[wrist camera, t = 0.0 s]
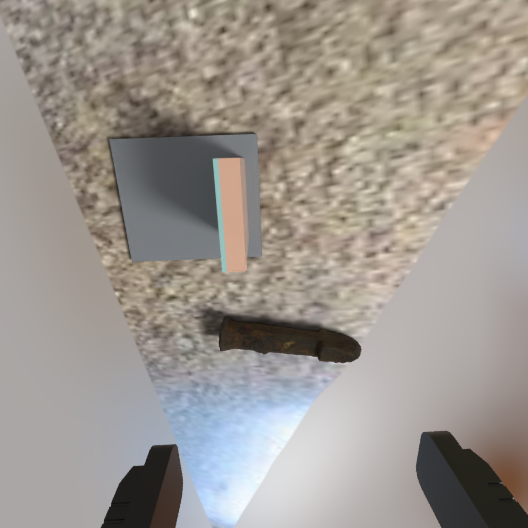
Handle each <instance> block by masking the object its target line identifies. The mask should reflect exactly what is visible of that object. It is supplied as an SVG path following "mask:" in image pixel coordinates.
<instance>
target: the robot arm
mask: <svg viewBox="0 0 528 528" xmlns="http://www.w3.org/2000/svg"><path fill="white" fill-rule="evenodd" d="M416 472H417V477H418V480H419V483H420V486H421V488H422V490H423V492H424V494H425V496H426V498H427V500H428V502H429V504H430V506H431V508H432V510H433V512H434V514H435V516H436V518H437V520H438V522H439V524H440V526H441V527H442V528H528V515H527V514H526V512H525V511H524V510H523V508H522V507H521V506H520V505H519V503H518V502H516V501H515V499H514V497H513V495H512V494H511V493H510V491H509V490H508V489H507V488H506V486H503V484H502V481H501V480H500V479H499V477H498V476H497V475H496V473H495V472H494V471H493V470H492V468H491V467H490V466H489V464H488V463H487V462H485V461H484V460H483V459H482V458H480V457H479V456H478V455H477V454H475V453H474V452H473V451H472V450H471V449H462V448H461V446H460V445H459V443H458V442H457V441H456V439H455V438H454V437H453V435H452V434H451V433H450V432H448V431H434V432H423V433H422V435H421V439H420V445H419V452H418V457H417V464H416ZM182 490H183V477H182V471H181V465H180V459H179V453H178V447H177V445H176V444H173V445H154V446H152V447H151V449H150V451H149V453H148V456H147V459H146V462H145V464H144V466H133V467H132V468H131V470H130V471H129V472H128V473H127V475H126V476H125V477H124V478H123V479H122V481H121V482H120V483H119V486H118V488H117V490H116V493H115V495H114V497H113V500H112V503H111V507H109V510H108V512H107V514H106V517H105V519H104V524H102V526H101V528H175V527H176V522H177V517H178V513H179V508H180V503H181V498H182Z"/></svg>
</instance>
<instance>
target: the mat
mask: <svg viewBox="0 0 528 528" xmlns="http://www.w3.org/2000/svg"><path fill="white" fill-rule="evenodd" d="M109 140H110V145H111V151H112V156H113V162H114V167H115V173H116V178H117V183H118V189H119V194H120V200H121V205H122V211H123V216H124V221H125V227H126V232H127V238H128V243H129V249H130V254H131V260H132V262H140V261H163V260H187V259H211V258H221V251H220V239H219V228H218V216H217V204H216V192H215V180H214V168H213V159H217V158H244V159H245V176H246V195H247V214H248V233H249V240H248V253H247V257H258V256H262V247H261V221H260V196H259V171H258V145H257V134H240V135H212V136H184V137H156V138H128V139H109Z"/></svg>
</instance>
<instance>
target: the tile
mask: <svg viewBox="0 0 528 528" xmlns="http://www.w3.org/2000/svg"><path fill="white" fill-rule="evenodd" d="M213 168H214V180H215V192H216V204H217V216H218V228H219V239H220V251H221V263H222V272H237V271H246V266H247V253H248V240H249V233H248V214H247V195H246V176H245V159H244V158H217V159H213Z"/></svg>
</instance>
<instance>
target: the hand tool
mask: <svg viewBox="0 0 528 528" xmlns="http://www.w3.org/2000/svg"><path fill="white" fill-rule="evenodd" d="M219 347H220V351H226V350H230V349H243V350H253V351H256V352H259V353H263V354H267V353H268V352H273V353H285V354H294V355H308V356H313V357H318V359H319V361H326V362H329V361H332V362H335V363H338V362H341V363H345V362H352V361H354V360H356V359H358V358H359V356H360V352H361V346H360V345H359V343H358V342H357V341H356V340H354V339H352V338H350V337H347V336H345V335H342V334H339V333H334V332H330V331H327V330H323V329H320V330H318V331H317V332H316V331H307V330H300V329H294V328H289V327H277V326H270V325H264V324H259V323H257V324H253V323H243V322H235V321H232V320H229V319H228V317H227V316H225V317H224V319H223V322H222V326H221V329H220V335H219Z"/></svg>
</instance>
